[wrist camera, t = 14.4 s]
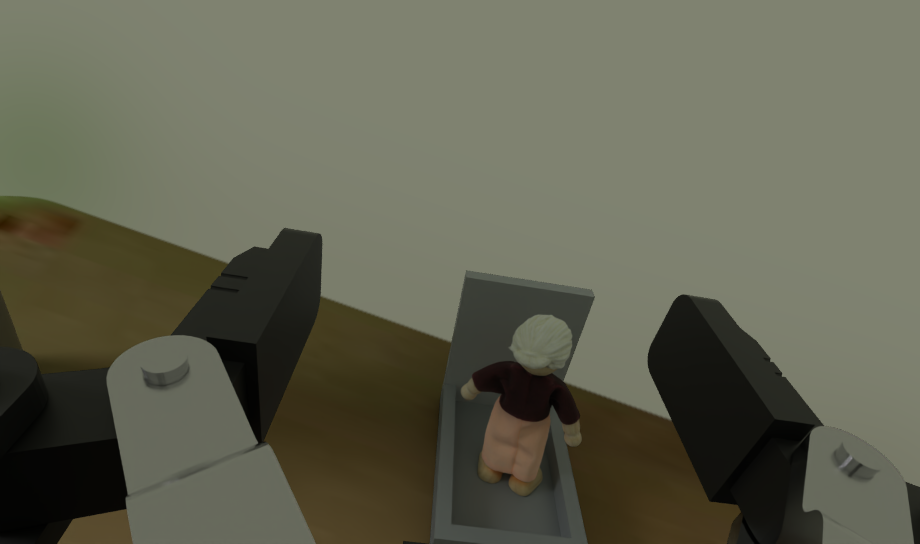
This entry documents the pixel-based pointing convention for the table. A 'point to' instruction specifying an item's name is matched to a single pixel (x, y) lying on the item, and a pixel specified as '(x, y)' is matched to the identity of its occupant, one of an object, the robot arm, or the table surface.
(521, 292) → the case
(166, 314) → the table surface
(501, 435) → the grandmother figurine
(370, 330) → the table surface
